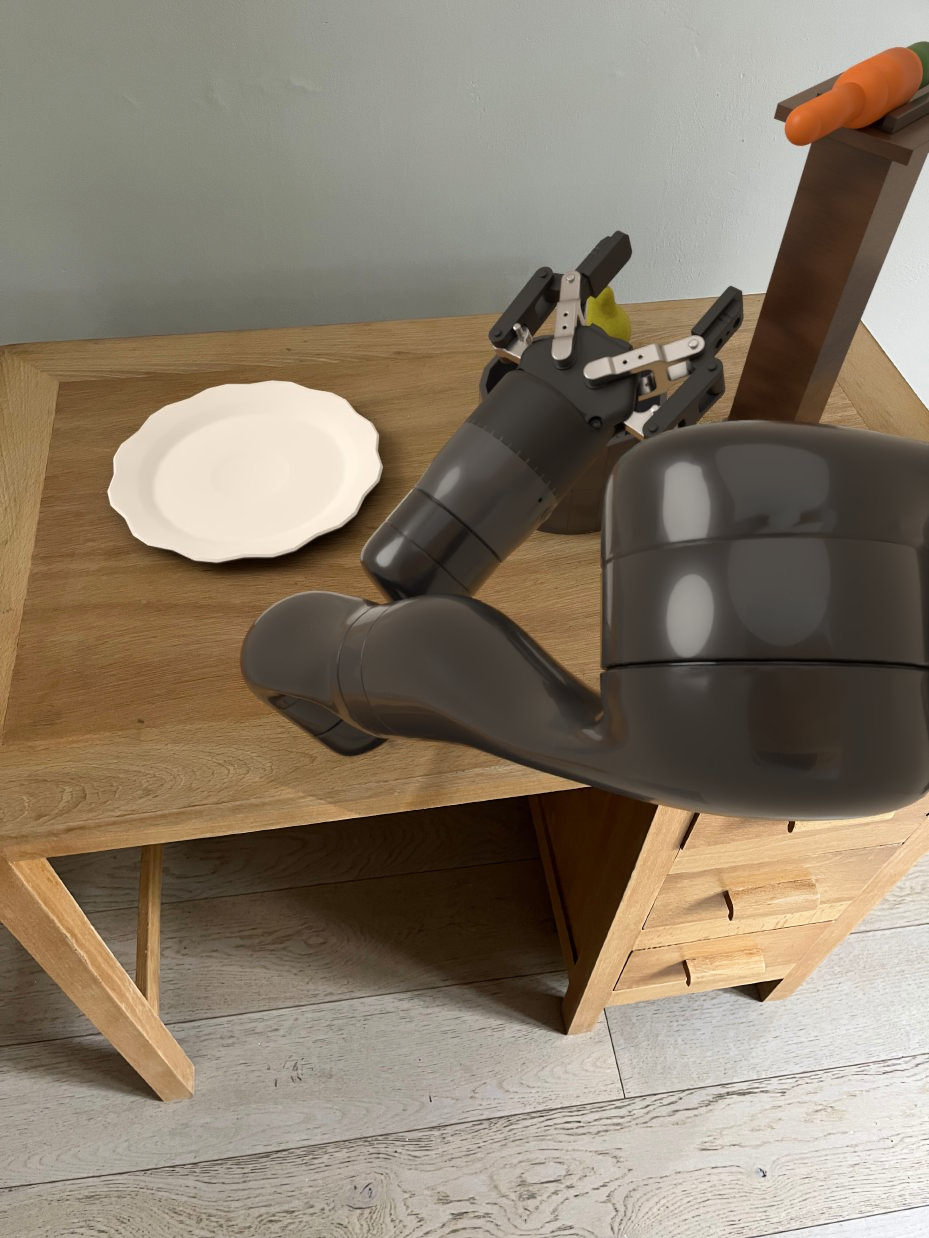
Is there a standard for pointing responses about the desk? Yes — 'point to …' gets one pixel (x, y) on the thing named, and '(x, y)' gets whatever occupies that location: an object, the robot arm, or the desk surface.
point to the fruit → (609, 315)
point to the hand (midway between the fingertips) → (679, 268)
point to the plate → (245, 471)
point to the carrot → (862, 94)
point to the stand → (830, 258)
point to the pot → (587, 495)
